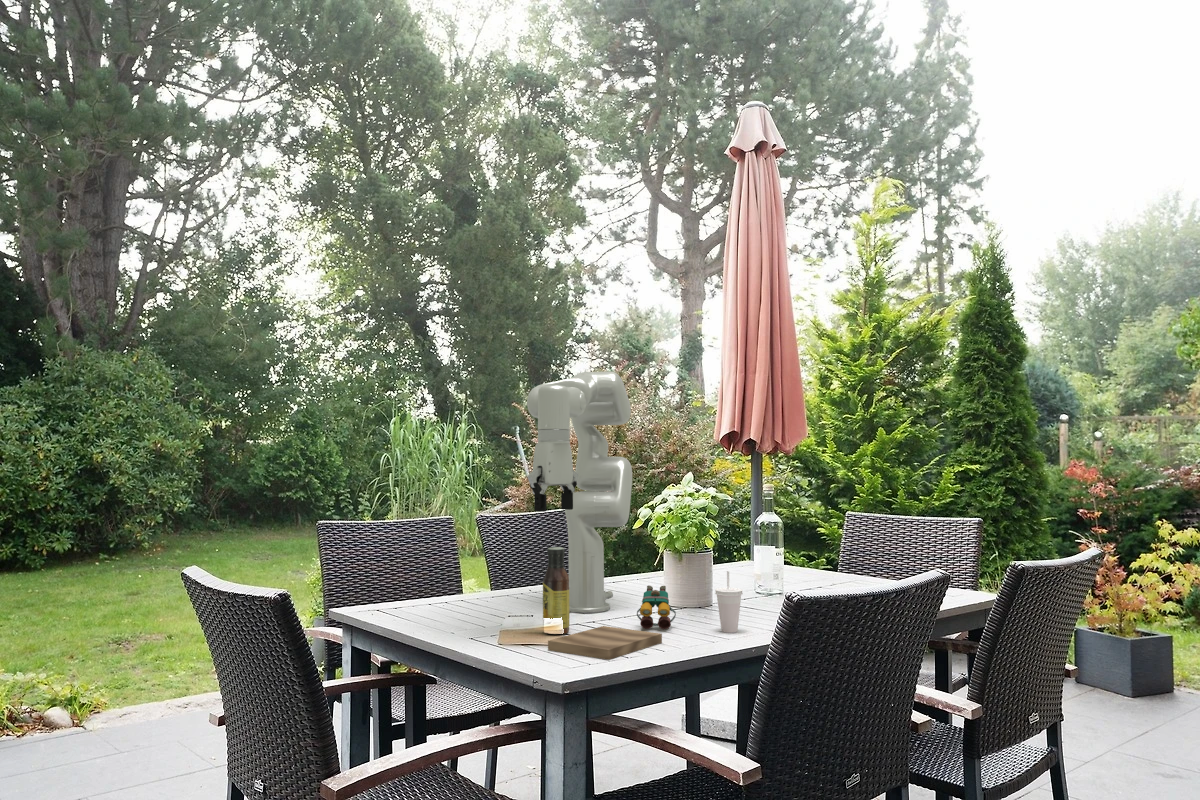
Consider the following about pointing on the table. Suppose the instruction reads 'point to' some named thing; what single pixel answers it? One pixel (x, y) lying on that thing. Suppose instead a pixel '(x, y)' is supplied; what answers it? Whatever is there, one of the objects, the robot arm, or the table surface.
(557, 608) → the sauce bottle
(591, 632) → the walnut board
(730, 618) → the smoothie
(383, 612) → the table surface
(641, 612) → the binoculars
